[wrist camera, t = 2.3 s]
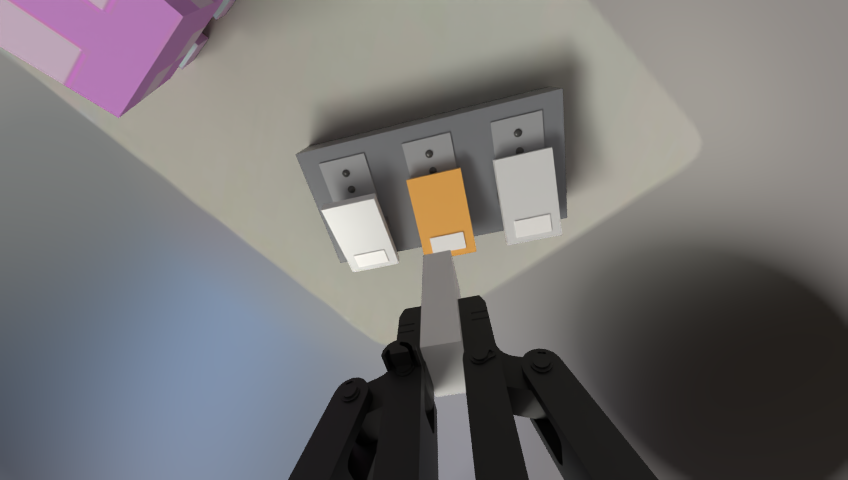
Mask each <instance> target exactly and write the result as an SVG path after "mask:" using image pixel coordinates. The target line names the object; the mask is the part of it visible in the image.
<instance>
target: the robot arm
mask: <svg viewBox="0 0 848 480" xmlns="http://www.w3.org/2000/svg"><path fill="white" fill-rule="evenodd" d="M381 356H382V359H383V361H384V364H385V366H386V369H387V371H388V372H386V373H385V374H384V375H382V376H381V377H379V378H377V379H374V380H372V381H370V382H368V383H367V382H366V381H365V380H364V379H362V378H351V379H349V380H347V381H345V382H344V383H342V384H341V385H340V386H339V387H338V389H337V390H336V391H335V393H334V395H333V397H332V398H331V400H330V402H329V404H328V406H327V408H326V410H325V412H324V414H323V415H322V417H321V419H320V421H319V423H318V425H317V427H316V428H315V430H314V432H313V434H312V436H311V438H310V440H309V442H308V443H307V445H306V447H305V449H304V451H303V453H302V455H301V456H300V459H299V460H298V462H297V464H296V466H295V468H294V470H293V472H292V473H291V475H290V477H289V479H288V480H438V444H437V409H436V406H435V402H434V392H435V395H436V397H439V396H446V395H453V394H460V393H466V396H467V405H468V414H469V423H470V433H471V442H472V451H473V460H474V469H475V478H476V480H529V478H528V474H527V470H526V466H525V461H524V457H523V453H522V449H521V445H520V441H519V437H518V433H517V428H516V424H515V420H514V416H513V415H517V416H523V417H528V418H530V420H531V422H532V424H533V425H534V427H535V429H536V431H537V432H538V434H539V436H540V438H541V440H542V441H543V443H544V445H545V446H546V449H547V450H548V452H549V454H550V455H551V457H552V459H553V461H554V463H555V464H556V466H557V468H558V470H559V471H560V473H561V475H562V477H563V478H564V480H658V479H657V477H656V476H655V475H654V474H653V472H652V471H651V470H650V469H649V468H648V466H647V465H646V464H645V463H644V461H643V460H642V459H641V458H640V456H639V455H638V454H637V453H636V451H635V450H634V449H633V448H632V447H631V445H630V444H629V443H628V442H627V440H626V439H625V438H624V437H623V435H622V434H621V433H620V432H619V431H618V429H617V428H616V427H615V425H614V424H613V423H612V422H611V420H610V419H609V418H608V417H607V416H606V414H605V413H604V412H603V411H602V409H601V408H600V407H599V406H598V405H597V403H596V402H595V401H594V400H593V398H592V397H591V396H590V395H589V393H588V392H587V391H586V390H585V388H584V387H583V386H582V385H581V383H580V382H579V381H578V380H577V378H576V377H575V376H574V375H573V373H572V372H571V371H570V370H569V369H568V367H567V366H566V365H565V364H564V362H563V361H562V360H561V359H560V357H558V356H557V355H556V354H555V353H554V352H551V351H549V350H546V349H534V350H531V351H529V352H527V353H526V354H525V355H524V356H523V357H517V356H511V355H508V354H505V353H503V352H502V351H500V350H499V348H498V347H497V346H496V343H495V340H494V335H493V331H492V327H491V323H490V319H489V315H488V311H487V307H486V303H485V301H484V300H483V299H482V298H481V297H480V296H479V295H478V296H472V297H466V298H461V296H460V289H459V285H458V280H457V276H456V272H455V267H454V263H453V258H452V254H451V250H447V251H442V252H437V253H432V254H427V255H423V275H422V302H421V306H420V307H414V308H408V309H405V310H404V311H403V313H402V314H401V316H400V318H399V327H398V334H397V341H394V342H392V343H390V344H389V345H387V347H386V348H385V349H384V350H383V353H382V355H381Z"/></svg>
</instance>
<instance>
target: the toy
mask: <svg viewBox="0 0 848 480" xmlns="http://www.w3.org/2000/svg"><path fill="white" fill-rule="evenodd" d="M234 2H235V0H0V47H2V48H4V49H5V50H7V51H9V52H10V53H12V54H13V55H15V56H17V57H18V58H20V59H22V60H23V61H25V62H27V63H28V64H30V65H32V66H33V67H35V68H37V69H38V70H40V71H42V72H43V73H45V74H47V75H48V76H50V77H52V78H53V79H55V80H57V81H58V82H60V83H62V84H63V85H65V86H67V87H68V88H70V89H72V90H73V91H75V92H77V93H78V94H80V95H82V96H83V97H85V98H87V99H88V100H90V101H92V102H93V103H95V104H97V105H98V106H100V107H102V108H103V109H105V110H106V111H108V112H110V113H111V114H113V115H115V116H116V117H118V118H119V117H120V116H122V115H123V114H124V113H126V112H127V111H128V110H130V109H131V108H132V107H133V106H135V105H136V104H137V103H139V102H140V101H141V100H143V99H144V98H145V97H146V96H148V95H149V94H150V93H152V92H153V91H154V90H156V89H157V88H158V87H159V86H161V85H162V84H163V83H165V82H166V81H167V80H169V79H170V78H171V77H172V75H173V74H174V72H175V71H176V69H177V68H178V67H180V68H181V69H183V68H184V67H186V66H187V65H188V64H189V63H191V62H192V61H193V60H194V59H195V57H196V56H197V54H198V53H199V52H200V50H201V49H202V47H203V46H204V44H205V43H206V41H207V40H208V39H209V38H208V37H206V36H205V35H204V34H203V33H202V31H203V30H204V28H205V27H206V25H207V24H208V22H209V21H210V19H211V18H212V16H213V17H214V18H215V19H216V20H217V19H219V18H220V17H222V16H224V15H225V14H226V13H227V12H228V10H229V9H230V8H231V6H232V5H233V3H234Z"/></svg>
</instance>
